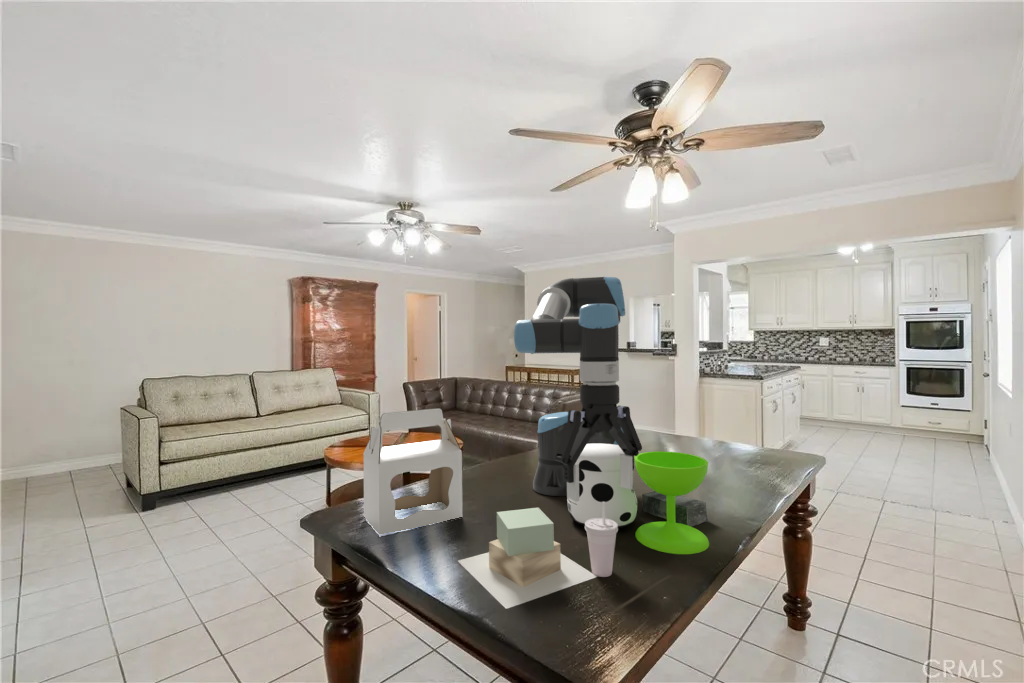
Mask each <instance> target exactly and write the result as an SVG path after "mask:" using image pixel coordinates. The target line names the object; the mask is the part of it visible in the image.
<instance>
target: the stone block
mask: <svg viewBox="0 0 1024 683" xmlns="http://www.w3.org/2000/svg"><path fill="white" fill-rule="evenodd" d="M641 496H642V498H641V499H642V501H641V503H642V504H641V506H642V512H645V513H648V514H650V515H652V516H655V517H659V518H661V519H665V520H667V501H666V495H663V494H661V493H658V492H656V491H654V490H652V491H650V492H646V493H645V492H644V493H642V495H641ZM707 513H708V512H707V502H706V501H702V500H698V499H695V498H692V497H687V496H686V495H681V496H675V520H676V523H680V524H684V525H688V526H691V527H693V528H694V527H695V526H698V525H700V524H701V525H702V524H703V523H707V522H708V521H709V520H708V514H707Z"/></svg>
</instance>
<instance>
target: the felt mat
mask: <svg viewBox="0 0 1024 683" xmlns="http://www.w3.org/2000/svg"><path fill="white" fill-rule="evenodd" d="M457 562H458V563H459V564H460V565H461V566H462V567H463V568H464V569H465V570H466V571H467V572H468V573H469V574H470V575H471V576H472V577H473V578H474V579H475V580H476V581H477V582H478V583H479V584H480V585H481V586H482V587H483V588H484V589H485V590H486V591H487V592H488V593H489V594H490V595H491V596H492V597H493V598H494V599H495V600H496V601H497V602H498V603H499V604H500V605H501V606H503V608H504V609H506V610H508V609H510V608H513V607H517V606H520V605H522V604H525V603H527V602H530V601H533V600H536V599H538V598H541V597H544V596H548V595H550V594H553V593H556V592H558V591H562V590H564V589H565V590H566V589H567V588H570V587H572V586H576V585H578V584H581V583H582V584H583V583H584V582H587V581H590V580H593V579H596V578H598V576H596V575H594V574H593V573H592V571H590V570H588V569H587V568H584V567H583V566H582V565H580V564H578V563H577V562H576V561H574V560H572V559H570V558H569V557H567V556H566V555H564V554H562V553H561V569H560V570H558V571H556V572H554V573H552V574H550V575H548V576H546V577H544V578H542V579H540V580H537V581H535V582H533V583H531V584H529V585H527V586H525V587H521V586H520V585H518V584H516V583H514V582H513V581H511V580H509V579H508V578H506V577H504V576H503V575H501V574H499V573H498V572H496V571H494V570H493V569H491V568H489V551H488V552H485V553H481V554H477V555H474V556H470V557H466V558H463V559H459V560H457Z"/></svg>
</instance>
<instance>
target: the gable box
mask: <svg viewBox="0 0 1024 683" xmlns="http://www.w3.org/2000/svg"><path fill="white" fill-rule="evenodd" d="M379 421H380V422H379V424H378V425H376V426H371V427H370V434H369V441H368V443H367V445H366V446H365V449H364V451H363V518H364V517H365V518H366V519H367V520H368V521H369V523H370V524H371V525H372V526H373V528H374V529H375V530H376V531H377V532H378V533H379V534H384V533H389V532H395V531H401V530H406V529H412V528H416V527H420V526H425V525H429V524H433V523H437V522H442V523H444V522H443V521H446V522H448V521H447V520H450V519H455V518H459V517H462V518H463V451H462V449H461V446H460V444H459V442H458V440H457V438H456V436H455V435H454V432H453V430H452V421H451V418H447V419H446V418H444V414H443V410H442V409H441V408H439V407H438V408H436V407H435V408H426V409H417V410H415V409H414V410H404V411H392V412H383V413H382V414H381V416H380V417H379ZM438 426H439V428H440V439H434V440H427V441H421V442H419V441H418V442H412V443H402V444H397V445H396V444H395V445H389V446H383V437H384V434H385V433H387V432H388V433H389V432H392V431H398V430H399V431H400V430H408V429H409V430H411V429H418V428H427V427H428V428H429V427H438ZM408 472H430V473H429V475H428V492H427V493H426V494H425V495H413V494H412V495H403V496H400V497H398V498H396V499H395V497H394V495H393V492H392V489H391V483H392V479H394V478H395V477H396V476H398V475H400V474H403V473H408ZM437 502H442V503H444V504H445V505H446V506H447V507H446V508H445V509H442V510H422V511H419V512H416V513H414V514H412V515H410V516H408V517H406V518H404V519H397V518H396V517H395V510H401V509H408V508H412V507H417V506H421V505H427V504H432V503H437ZM459 519H460V518H459ZM455 520H456V519H455Z"/></svg>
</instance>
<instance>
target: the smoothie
mask: <svg viewBox="0 0 1024 683" xmlns="http://www.w3.org/2000/svg"><path fill="white" fill-rule="evenodd" d="M584 530H585V531H586V535H587V542H588V543H587V544H588V550H589V552H588V553H589V559H590V568H591V573H592V574H594V575H596V576H597V577H601V578H606V577H607V578H608V577H610V576H612V574H613V566H614V564H613V563H614V555H615V548H616V541H617V539H616V538H617V534H618V531H619V528H618V524H617V523H616V522H615V521H613V520H610V519H606V518H605V502H604V501H603V502H602V518H592V519H589V520H587V521H586V522H585V526H584Z"/></svg>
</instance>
